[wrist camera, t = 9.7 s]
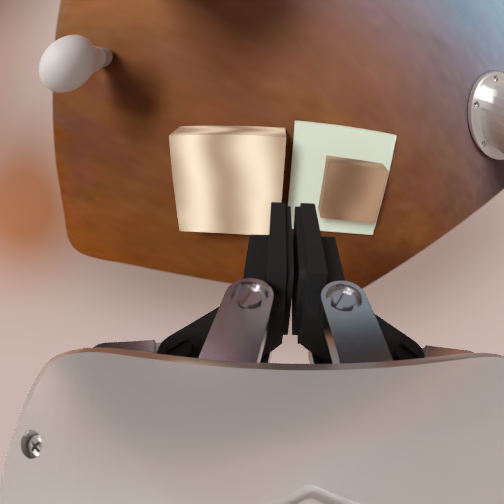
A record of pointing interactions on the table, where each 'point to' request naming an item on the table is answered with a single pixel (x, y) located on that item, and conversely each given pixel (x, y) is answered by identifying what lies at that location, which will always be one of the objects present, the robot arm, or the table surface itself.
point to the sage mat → (313, 163)
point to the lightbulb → (71, 63)
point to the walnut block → (352, 189)
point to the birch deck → (227, 177)
